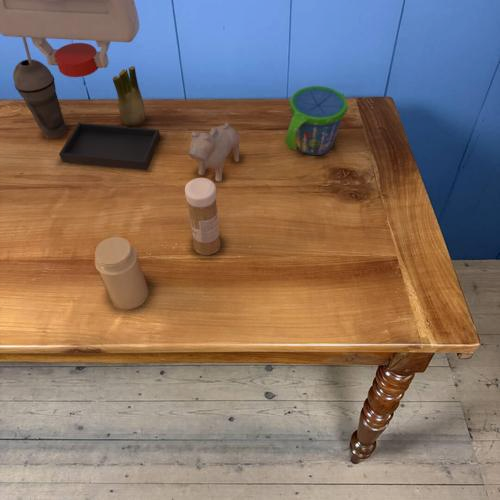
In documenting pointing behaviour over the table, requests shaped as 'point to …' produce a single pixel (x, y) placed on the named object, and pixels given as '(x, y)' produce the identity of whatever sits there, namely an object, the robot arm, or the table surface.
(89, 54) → the lid
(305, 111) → the snack cup
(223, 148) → the dog figurine
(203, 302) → the table surface
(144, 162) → the tray
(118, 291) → the jar
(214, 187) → the sprinkles bottle
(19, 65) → the beverage cup
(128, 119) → the fennel bulb
